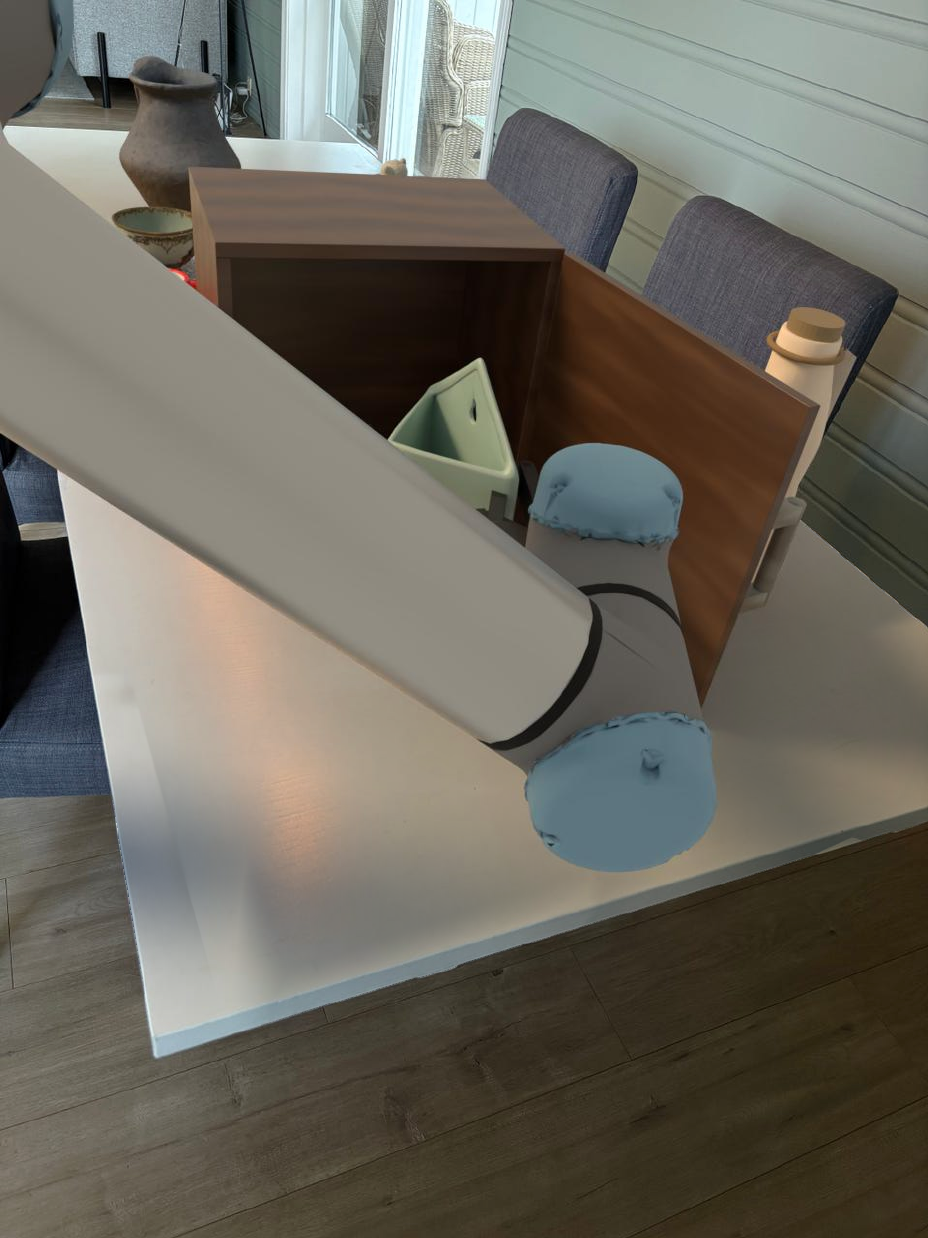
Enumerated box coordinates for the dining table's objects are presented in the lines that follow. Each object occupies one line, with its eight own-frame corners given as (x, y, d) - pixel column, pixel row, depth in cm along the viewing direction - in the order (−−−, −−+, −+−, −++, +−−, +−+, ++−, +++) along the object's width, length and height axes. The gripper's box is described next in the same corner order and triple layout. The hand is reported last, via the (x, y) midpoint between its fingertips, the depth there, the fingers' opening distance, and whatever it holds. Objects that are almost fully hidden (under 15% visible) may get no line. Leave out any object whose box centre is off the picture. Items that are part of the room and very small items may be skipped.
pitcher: (168, 245, 157) (154, 80, 142) (100, 209, 168) (80, 52, 152) (264, 229, 170) (261, 76, 154) (196, 197, 180) (187, 50, 165)
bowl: (215, 281, 147) (213, 230, 142) (130, 287, 141) (124, 234, 136) (190, 253, 156) (187, 203, 151) (108, 257, 150) (102, 206, 145)
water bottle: (724, 532, 105) (810, 291, 88) (789, 572, 100) (893, 325, 83) (667, 558, 100) (747, 306, 82) (733, 602, 95) (833, 343, 77)
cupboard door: (564, 524, 102) (625, 250, 83) (746, 702, 83) (879, 395, 64) (512, 535, 99) (564, 253, 81) (688, 722, 80) (810, 407, 61)
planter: (347, 528, 86) (352, 324, 74) (424, 515, 89) (441, 317, 77) (414, 634, 75) (434, 416, 63) (499, 615, 78) (534, 404, 66)
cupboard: (514, 532, 100) (565, 248, 81) (231, 556, 91) (214, 242, 72) (453, 435, 116) (485, 178, 97) (207, 447, 106) (188, 166, 87)
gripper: (353, 654, 62) (294, 481, 78) (629, 619, 68) (521, 466, 84) (357, 565, 57) (293, 400, 73) (653, 536, 64) (534, 390, 80)
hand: (415, 435), depth 79 cm, fingers closed on planter, 8 cm apart
